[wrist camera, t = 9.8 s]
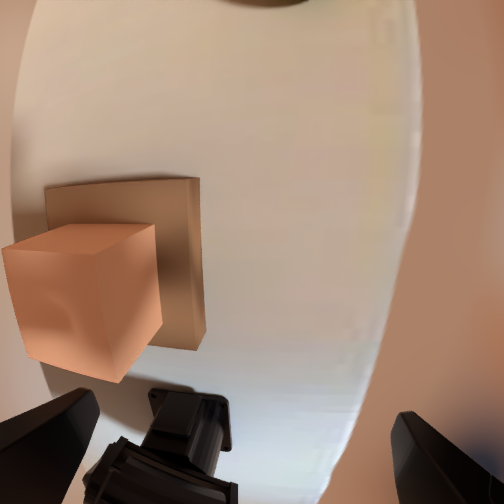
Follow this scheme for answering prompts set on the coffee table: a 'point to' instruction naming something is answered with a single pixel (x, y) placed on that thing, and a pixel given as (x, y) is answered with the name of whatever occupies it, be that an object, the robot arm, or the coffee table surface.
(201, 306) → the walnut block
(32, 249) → the terracotta cube
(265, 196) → the coffee table surface
